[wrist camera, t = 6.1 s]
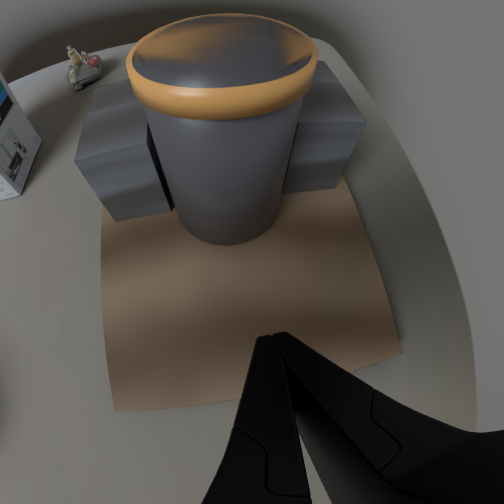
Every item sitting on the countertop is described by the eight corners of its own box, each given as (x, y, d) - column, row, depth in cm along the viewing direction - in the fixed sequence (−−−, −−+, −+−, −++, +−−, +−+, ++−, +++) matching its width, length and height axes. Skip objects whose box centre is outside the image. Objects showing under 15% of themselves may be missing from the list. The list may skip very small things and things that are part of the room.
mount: (393, 354, 15) (472, 338, 9) (122, 409, 13) (52, 426, 7) (312, 125, 22) (332, 54, 15) (113, 153, 20) (83, 85, 13)
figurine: (86, 67, 25) (70, 33, 20) (114, 64, 25) (101, 27, 20) (65, 97, 24) (44, 63, 18) (94, 95, 24) (74, 57, 18)
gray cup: (293, 238, 16) (350, 89, 7) (177, 258, 15) (112, 113, 6) (267, 152, 18) (286, 12, 9) (170, 166, 18) (136, 26, 8)
